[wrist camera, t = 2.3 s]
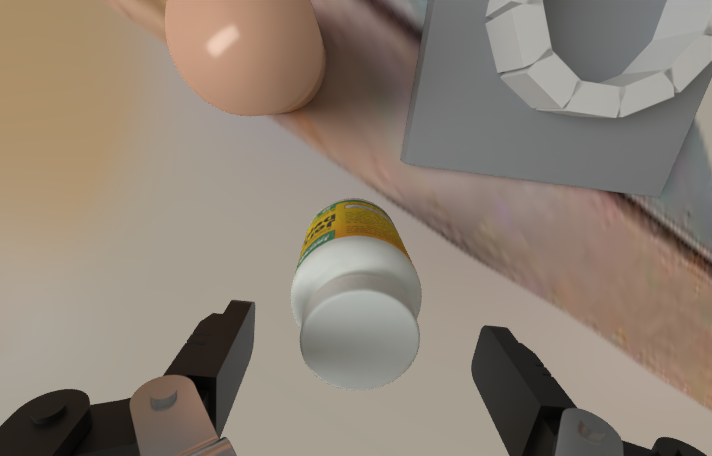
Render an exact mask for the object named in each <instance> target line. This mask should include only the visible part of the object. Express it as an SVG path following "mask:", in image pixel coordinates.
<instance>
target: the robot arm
mask: <svg viewBox="0 0 712 456" xmlns="http://www.w3.org/2000/svg"><path fill="white" fill-rule="evenodd" d="M254 322H255V303H254V302H249V301H238V300H232V301H231V302H230V304H229V305H228V307H227V308H226V310H225V312H224V313H223V314H216V313H213V314H211V315H210V316H208V317H207V318H205V319H204V320H202V321H201V322H200V323H199V324H198V326H197V327H196V329H195V330H194V332H193V334H192V335H191V336H190V337H189V339H188V340H187V343H185V345H184V346H183V348H182V349H181V350H180V352H179V353H178V355H177V356H176V358H175V359H174V361H173V362H172V364H171V365H170V366H169V368H168V369H167V371H166V372H165V374H164V375H163V376H162V377H158V378H155V379H153V380H151V381H149V382H147V383H145V384H144V385H142V386H141V387H140V388H139V389H138V390H137V391H136V392H135V393H134V394H133V396H132V397H131V398H128V399H124V400H119V401H113V402H107V403H100V404H94V405H90V401H89V397H88V395H86V393H84V392H82V391H80V390H75V389H64V390H58V391H53V392H50V393H47V394H44V395H41V396H39V397H37V398H35V399H33V400H31V401H29V402H27V403H26V404H24V405H23V406H22V407H20V408H19V409H18V410H17V411H16V412H14V413H13V414H12V415H11V416H10V417H9V418H8V419H7V420H6V421H5V422H4V423H3V424H2V425H1V426H0V456H237V455H236V453H235V451H234V449H233V447H232V445H231V443H230V441H229V440H228V439H227V438H226V437H223V438H222V439H220V436H221V434H222V431H223V429H224V426H225V423H226V421H227V418H228V416H229V413H230V410H231V408H232V405H233V403H234V400H235V397H236V395H237V392H238V390H239V387H240V384H241V382H242V379H243V377H244V374H245V371H246V368H247V366H248V364H249V361H250V358H251V354H252V349H253V343H254ZM471 367H472V368H471V370H472V376H473V380H474V382H475V384H476V386H477V388H478V390H479V392H480V395H481V397H482V399H483V401H484V403H485V405H486V407H487V409H488V411H489V414H490V415H491V418H492V420H493V422H494V424H495V426H496V428H497V430H498V432H499V435H500V437H501V439H502V441H503V443H504V445H505V447H506V449H507V451H508V454H509V455H510V456H707V455H705V454H704V453H702V452H701V451H699V450H698V449H696V448H694V447H692V446H691V445H689V444H686V443H684V442H682V441H680V440H677V439H674V438H669V437H661V438H658V439H657V440H656V442H655V444H654V446H653V448H652V450H650V449H647V448H644V447H641V446H637V445H635V444H632V443H629V442H625V441H622V440H621V438H620V436H619V435H618V433H617V432H616V431H615V430H614V429H613V428H612V427H611V426H610V425H609V424H608V423H607V422H605V421H604V420H603V419H601V418H600V417H598V416H596V415H594V414H593V413H590V412H588V411H585V410H582V409H578V408H577V407H576V406H575V404H574V403H573V402H572V400H571V399H570V398H569V397H568V396H567V394H566V393H565V391H564V390H563V389H562V388H561V386H560V385H559V384H558V383H557V381H556V380H555V379H554V377H551V374H550V372H549V371H548V370H547V368H545V367H544V365H543V363H542V362H541V361H540V359H539V358H538V357H537V356H536V354H535V353H533V352H532V351H531V350H530V349H528V348H527V347H526V346H524V345H523V344H522V343H518V341H517V340H516V338H515V337H514V336H513V335H512V333H511V332H510V331H509V329H508V328H505V327H497V326H486V325H485V326H483V328H482V329H481V332H480V335H479V339H478V342H477V346H476V349H475V353H474V356H473V360H472V366H471Z"/></svg>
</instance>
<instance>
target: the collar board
mask: <svg viewBox="0 0 712 456" xmlns="http://www.w3.org/2000/svg"><path fill="white" fill-rule="evenodd" d="M711 77H712V0H428V5H427V11H426V16H425V22H424V28H423V33H422V39H421V45H420V50H419V56H418V62H417V67H416V73H415V79H414V84H413V90H412V96H411V101H410V107H409V113H408V118H407V124H406V130H405V135H404V141H403V147H402V152H401V158H400V160H401V161H402V162H403V163H404V164H409V165H417V166H424V167H432V168H440V169H447V170H455V171H462V172H470V173H477V174H485V175H492V176H500V177H507V178H515V179H522V180H530V181H537V182H545V183H552V184H560V185H568V186H575V187H583V188H590V189H598V190H605V191H613V192H620V193H628V194H635V195H643V196H650V197H658V198H660V195H661V193H662V191H663V189H664V186H665V184H666V182H667V179H668V177H669V175H670V172H671V170H672V168H673V165H674V163H675V161H676V159H677V156H678V154H679V152H680V149H681V147H682V145H683V142H684V140H685V138H686V135H687V133H688V131H689V128H690V126H691V124H692V122H693V119H694V117H695V115H696V112H697V110H698V108H699V105H700V103H701V101H702V98H703V96H704V94H705V91H706V89H707V87H708V84H709V82H710V80H711Z"/></svg>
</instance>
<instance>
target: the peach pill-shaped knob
mask: <svg viewBox="0 0 712 456" xmlns="http://www.w3.org/2000/svg"><path fill="white" fill-rule="evenodd" d="M165 31H166V38H167V43H168V48H169V51H170V53H171V56H172V59H173V61H174V63H175V65H176V68H177V69H178V71H179V73H180V74H181V76H182V78H183V79H184V80H185V81H186V83H187V84H188V85H189V87H190V88H191V89H192V90H193V91H194V92H195V93H196V94H197V95H198V96H200V97H201V98H202V99H203V100H205V101H206V102H208V103H209V104H211V105H212V106H214V107H216V108H218V109H220V110H222V111H225V112H228V113H231V114H235V115H240V116H261V115H270V114H280V113H287V112H292V111H295V110H297V109H299V108H301V107H303V106H304V105H306V104H307V103H309V102H310V101H311V100H312V99H313V98H314V96H315V95H316V94H317V92H318V91H319V89H320V87H321V85H322V82H323V80H324V76H325V71H326V52H325V47H324V43H323V40H322V37H321V33H320V30H319V26H318V23H317V20H316V16H315V13H314V10H313V7H312V4H311V2H310V0H167V4H166V11H165Z"/></svg>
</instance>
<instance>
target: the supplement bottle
mask: <svg viewBox="0 0 712 456" xmlns="http://www.w3.org/2000/svg"><path fill="white" fill-rule="evenodd" d="M421 297H422V296H421V285H420V281H419V278H418V275H417V272H416V270H415V268H414V266H413V264H412V262H411V260H410V257H409V255H408V253H407V251H406V249H405V247H404V245H403V243H402V241H401V238H400V237H399V234H398V232H397V230H396V228H395V226H394V224H393V222H392V220H391V219H390V217H389V216H388V215H387V213H386V212H385V211H384V210H382V209H381V208H380V207H378V206H377V205H375V204H373V203H372V202H369V201H366V200H363V199H344V200H340V201H336V202H333V203H331V204H329V205H327V206H326V207H324V208H322V209H321V210H320V211H319V212H318V213H317V214H316V215H315V217H314V218H313V220H312V222H311V223H310V226H309V228H308V230H307V234H306V238H305V241H304V244H303V247H302V251H301V255H300V259H299V262H298V266H297V269H296V272H295V276H294V280H293V284H292V289H291V305H292V311H293V314H294V317H295V320H296V322H297V324H298V326H299V328H300V329H301V333H300V347H301V352H302V356H303V358H304V360H305V363H306V364H307V366H308V367H309V369H310V370H311V371H312V372H313V373H314V374H315V375H316V376H317V377H319V378H320V379H321V380H323V381H325V382H326V383H328V384H330V385H333V386H335V387H338V388H342V389H346V390H369V389H374V388H379V387H381V386H384V385H386V384H389V383H391V382H392V381H394V380H395V379H397V378H398V377H400V376H401V375H402V374H403V373H404V372H405V371H406V370H407V369H408V368H409V367H410V365H411V364H412V362H413V361H414V359H415V357H416V355H417V352H418V349H419V342H420V333H419V326H418V323H417V317H418V315H419V311H420V306H421Z"/></svg>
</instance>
